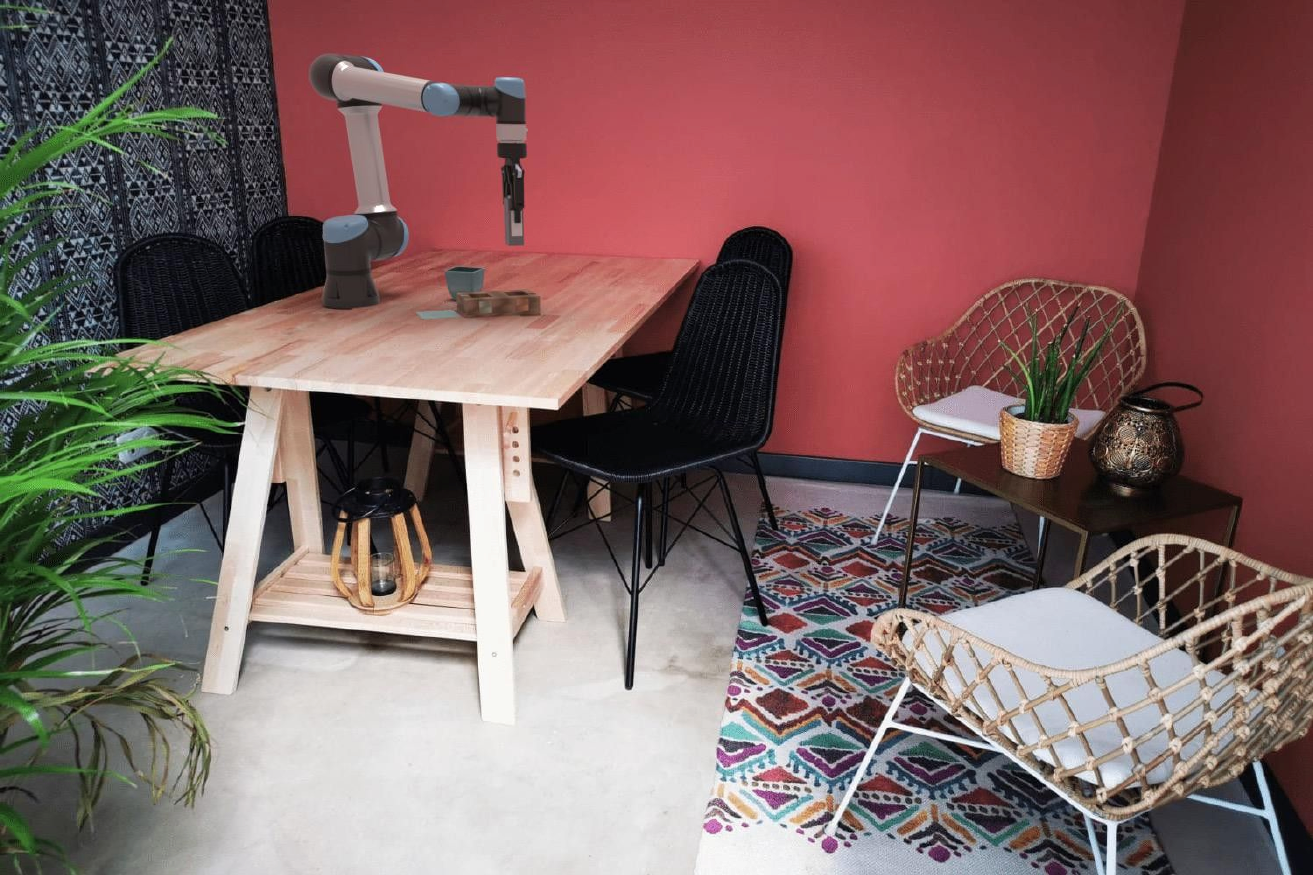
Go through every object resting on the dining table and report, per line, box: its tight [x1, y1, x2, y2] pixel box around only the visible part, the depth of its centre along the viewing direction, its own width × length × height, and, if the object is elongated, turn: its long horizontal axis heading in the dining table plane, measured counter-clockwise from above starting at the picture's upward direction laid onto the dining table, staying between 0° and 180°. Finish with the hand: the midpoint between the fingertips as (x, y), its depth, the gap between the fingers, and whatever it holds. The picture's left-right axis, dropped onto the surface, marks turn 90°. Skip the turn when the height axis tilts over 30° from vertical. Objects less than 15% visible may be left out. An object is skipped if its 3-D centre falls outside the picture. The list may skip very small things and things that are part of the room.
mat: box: [415, 309, 462, 321], centre depth 247 cm, size 10×10×1 cm
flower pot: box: [444, 265, 486, 301], centre depth 267 cm, size 9×9×9 cm
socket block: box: [455, 288, 542, 319], centre depth 252 cm, size 20×11×5 cm, turn 114°
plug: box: [503, 195, 525, 247], centre depth 247 cm, size 4×4×13 cm
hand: (514, 234), depth 248 cm, fingers closed on plug, 4 cm apart
